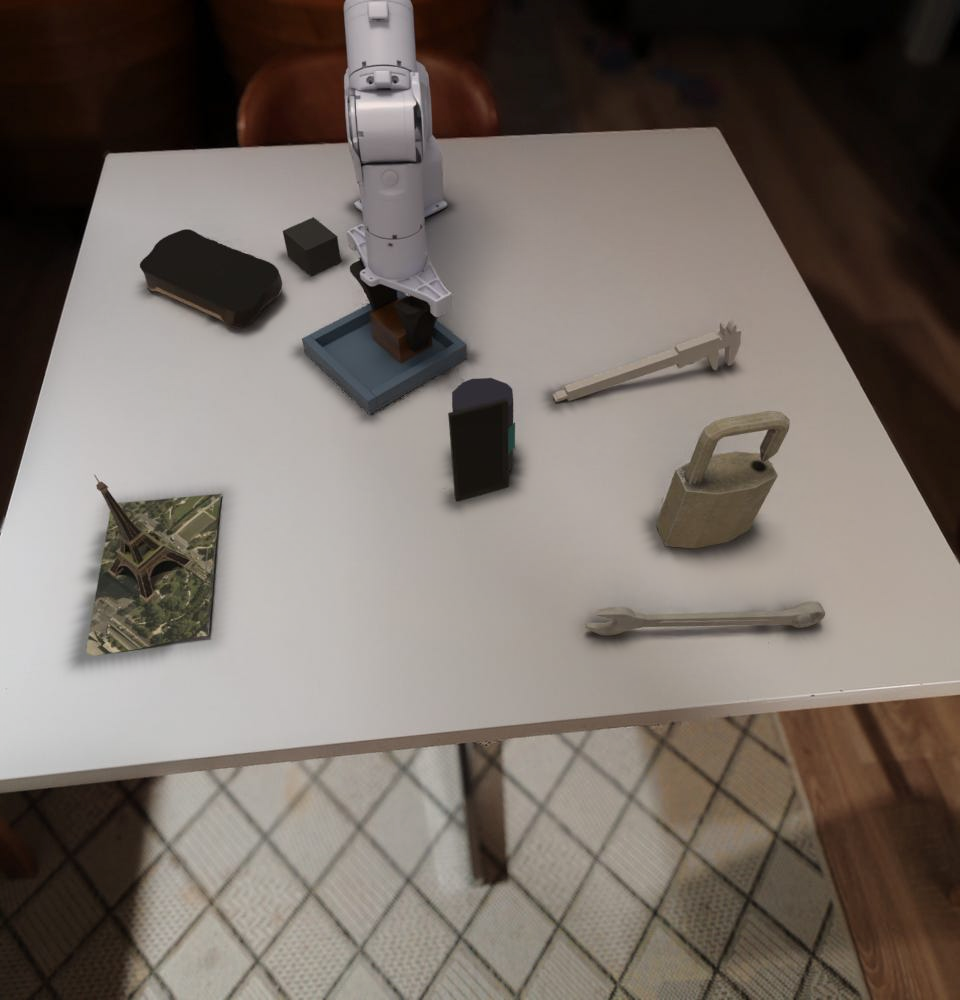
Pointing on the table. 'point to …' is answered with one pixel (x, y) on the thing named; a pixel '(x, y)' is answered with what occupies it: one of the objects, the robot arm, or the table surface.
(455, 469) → the speaker
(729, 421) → the padlock
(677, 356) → the caliper
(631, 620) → the combination wrench
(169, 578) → the eiffel tower figurine
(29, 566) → the table surface
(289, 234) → the black block
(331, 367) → the holder
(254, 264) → the black sponge
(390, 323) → the walnut block
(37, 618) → the table surface
